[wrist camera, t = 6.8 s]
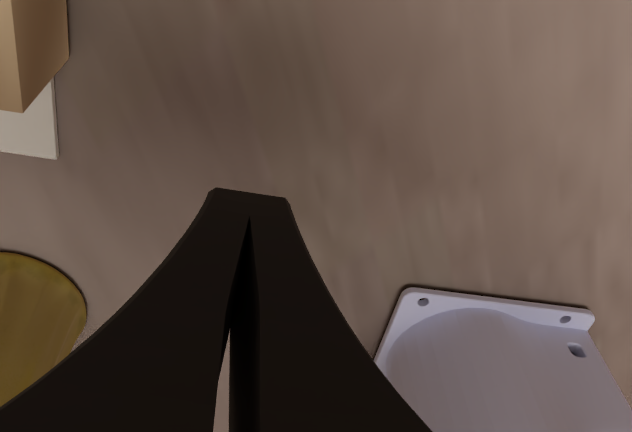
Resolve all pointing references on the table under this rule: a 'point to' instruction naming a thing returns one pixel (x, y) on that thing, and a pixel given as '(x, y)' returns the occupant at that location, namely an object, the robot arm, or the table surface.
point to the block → (30, 49)
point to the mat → (32, 127)
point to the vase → (34, 321)
